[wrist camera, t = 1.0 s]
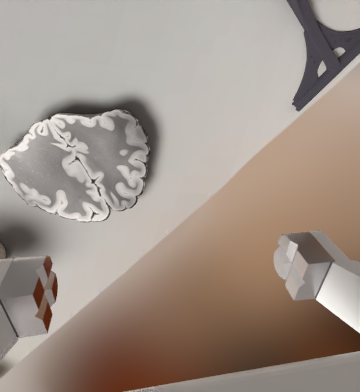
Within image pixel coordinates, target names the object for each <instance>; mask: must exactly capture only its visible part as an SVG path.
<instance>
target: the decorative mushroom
mask: <svg viewBox="0 0 360 392" xmlns="http://www.w3.org/2000/svg"><path fill="white" fill-rule="evenodd" d="M5 258H6V254H5V248H4V246H3V245H2V244H1V242H0V259H5Z"/></svg>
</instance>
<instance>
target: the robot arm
mask: <svg viewBox="0 0 360 392" xmlns="http://www.w3.org/2000/svg"><path fill="white" fill-rule="evenodd" d="M278 244H279V246H280V247H279V248H278V249H277V250H276V251H275V253H274V258H273V260H274V266H275V269H276V272H277V273H278V275H279V276H280V277H282V278H283V279H285V280H286V282H285V287H286V288H287V290H288V292H289V293H290V295H291V296H292V298H293V300H294V301H295V300H305V299H314V298H316V300H317V301H318V302H320V303H321V304H322V305H324V306H325V307H326V308H328V309H329V310H330V311H332V312H333V313H334V314H335V315H337V316H338V317H339V318H341V319H342V320H343V321H345V322H346V323H347V324H349V325H350V326H351V327H352V328H354V329H355V330H356V331H358V332H359V333H360V263H359V262H357V261H355V260H349V259H348V258H347V257H346V256H345V255H344V254H343V252H342V251H341V250H340V249H339V248H338V247H337V246H336V245H335V244H334V243H333V242H332V241H331V240H330V239H329V238H328V237H327V236H326V234H324V232H322V231H320V230H317V231H308V232H300V233H289V234H282V235H281V236H280V237H279V239H278ZM51 268H52V261H51V258H50V257H49V256H36V257H21V258H12V259H0V361H1V360H2V358H3V357H4V356H5V355H6V354H7V352H8V351H9V350H10V349H11V348H12V347H13V345H14V344H15V343H16V342H17V341H18V338H22V337H28V336H34V335H41V334H47V333H48V330H49V326H50V322H51V318H52V311H51V308H50V307H51V306H52V305H53V304H54V303H55V302H56V297H57V290H58V283H57V277H56V274H55V273H54V272H52V271H51ZM125 392H360V351H358V352H353V353H347V354H341V355H335V356H330V357H324V358H318V359H312V360H306V361H300V362H294V363H289V364H283V365H277V366H272V367H265V368H259V369H253V370H247V371H242V372H236V373H230V374H224V375H218V376H212V377H207V378H201V379H195V380H189V381H184V382H178V383H172V384H166V385H160V386H155V387H149V388H143V389H137V390H131V391H125Z"/></svg>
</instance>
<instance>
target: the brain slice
mask: <svg viewBox="0 0 360 392" xmlns="http://www.w3.org/2000/svg"><path fill="white" fill-rule="evenodd" d="M149 154H150V147H149V145H148V136H147V134H146V133H145V131H144V129H143V127H141V126H140V125H139V123H138V120H137V119H136V117H135V116H134V115H133V114H132V113H130V112H129V111H126V110H122V109H115V110H113V111H107V112H105V113H99V114H85V115H81V114H73V113H57V114H56V115H54V116H52V117H51V118H47V119H44V120H42V121H40V122H37V123H35V124H33V125H32V126H31V128H30V130H29V132H28V133H27V134H26V135H25V136H24V138H23V139H22V140H21V141H20V142H19V143H18V144H17V145H14V146H12V147H11V148H9V149H8V150H7V151H6V152H5V153H4V154H2V155H1V156H0V167H1V171H2V173H3V174H4V176H5V178H6V180H7V181H8V182H9V183H10V184H11V185H12V186H13V188H14V189H15V191H16V192H17V193H18V194H19V196H20V197H21V198H22V199H23V200H25V202H26V203H27V204H28V205H30V206H31V207H36V206H37V207H39V208H40V209H42V210H44V211H46V212H48V213H50V214H55V215H56V214H58V215H59V216H61V217H63V218H66V219H72V220H78V221H80V222H91V221H93V222H100V221H104V220H106V219H107V218H108V217H109V215H110V208H111V209H113V210H116V211H124V210H125V209H128V208H132V207H133V206H134V205H135V204H136V203H137V199H138V198H137V196H139V195H141V194H142V193H143V191H144V188H145V181H144V178H145V177H146V175H147V166H148V155H149ZM108 205H109V206H110V208H109V206H108Z"/></svg>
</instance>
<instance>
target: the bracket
mask: <svg viewBox="0 0 360 392" xmlns="http://www.w3.org/2000/svg"><path fill="white" fill-rule="evenodd" d="M287 2H288V3H289V5H290V7H291V8H292V10H293V12H294V13H295V15H296V17H297V18H298V20H299V22H300V23H301V25H302V27H303V28H304V30H305V32H304V36H305V41H306V47H307V62H306V67H305V72H304V76H303V79H302V82H301V84H300V87H299V89H298V91H297V93H296V95H295V97H294V99H293V100H294V102H293V103H292V105H294V106H295V107H296V110H297V111H300V110H301V109H302V108H303V107H304V106H305V105H306V104H307V103H308V102H310V101H311V100H312V99H313V98H314V97H315V96H316V95H317V94H318V93H319V92H320V91H321V90H322V89H323V88H324V87H325V86H326V85H327V84H328V83H329V82H330V81H331V80H332V79H333V78H335V77H336V76H337V75H338V74H339V73H340V72H341V71H342V70H343V69H344V68H345V67H346V66H347V65H348V64H349V63H350V62H351V61H352V60H353V59H354V58H355V57H356V56H357V55H358V54H359V53H360V28H359V29H357V30H353V31H348V32H335V31H332V30H330V29H327V28H326V27H324V26H323V25H321V24H320V23H319V22H318V21H316V20H315V18H314V16H313V14H312V11H311V8H310V6H309V3H308V1H307V0H287ZM338 47H342V48H344V49H345V51H346V52H345V53H344V54H343V55H342V56H340V57H339V58H338V59H337V57H336V56H335V54H334V53H333V51H332V50H334V49H335V48H338ZM322 60H323V62H324V63H325V65H326V68H327V70H326V71H325V72H324V73H323V74H322V75H321V76H320V77H319V78H318V77H317V69H318V66H319V64H320V63H321V61H322Z"/></svg>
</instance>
